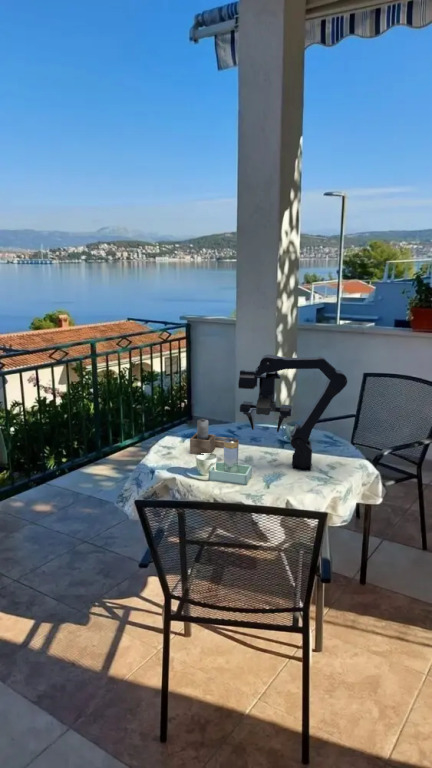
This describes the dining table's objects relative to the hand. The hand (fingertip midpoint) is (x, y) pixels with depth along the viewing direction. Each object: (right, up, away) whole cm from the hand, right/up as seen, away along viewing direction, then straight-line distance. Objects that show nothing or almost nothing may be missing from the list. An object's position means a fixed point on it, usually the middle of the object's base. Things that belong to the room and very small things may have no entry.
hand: (265, 431), depth 183 cm
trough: (-13, -15, -10) cm, 22 cm away
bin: (-24, -10, +15) cm, 30 cm away
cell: (-13, -15, -10) cm, 22 cm away
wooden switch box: (-18, -8, +23) cm, 30 cm away
